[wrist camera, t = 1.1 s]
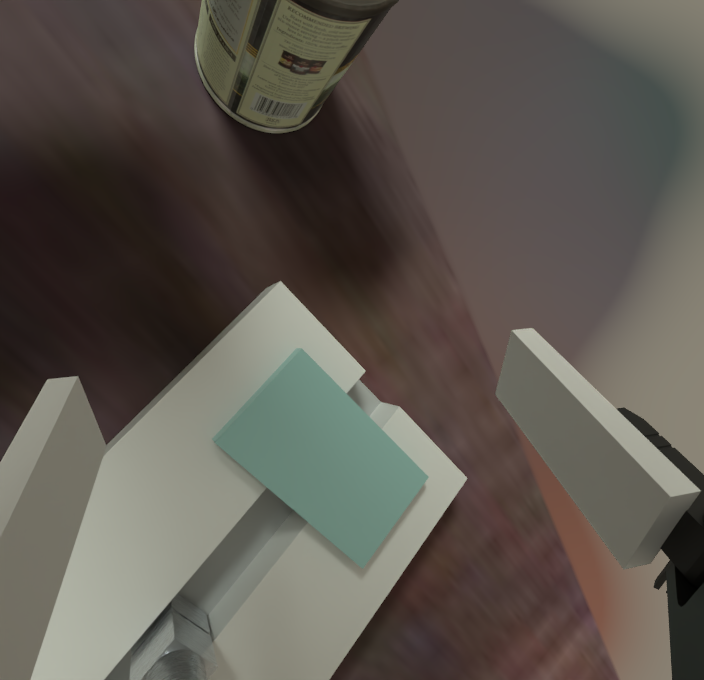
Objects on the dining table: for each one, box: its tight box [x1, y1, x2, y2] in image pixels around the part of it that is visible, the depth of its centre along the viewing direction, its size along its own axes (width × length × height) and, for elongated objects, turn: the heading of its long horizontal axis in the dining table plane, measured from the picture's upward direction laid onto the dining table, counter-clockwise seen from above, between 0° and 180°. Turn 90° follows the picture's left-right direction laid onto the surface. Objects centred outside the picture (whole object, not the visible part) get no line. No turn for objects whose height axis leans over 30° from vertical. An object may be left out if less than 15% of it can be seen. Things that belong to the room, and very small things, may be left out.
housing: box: [31, 281, 467, 680], centre depth 31 cm, size 22×28×4 cm
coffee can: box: [194, 0, 399, 133], centre depth 28 cm, size 10×10×14 cm
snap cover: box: [212, 348, 429, 569], centre depth 31 cm, size 14×8×1 cm, turn 47°
